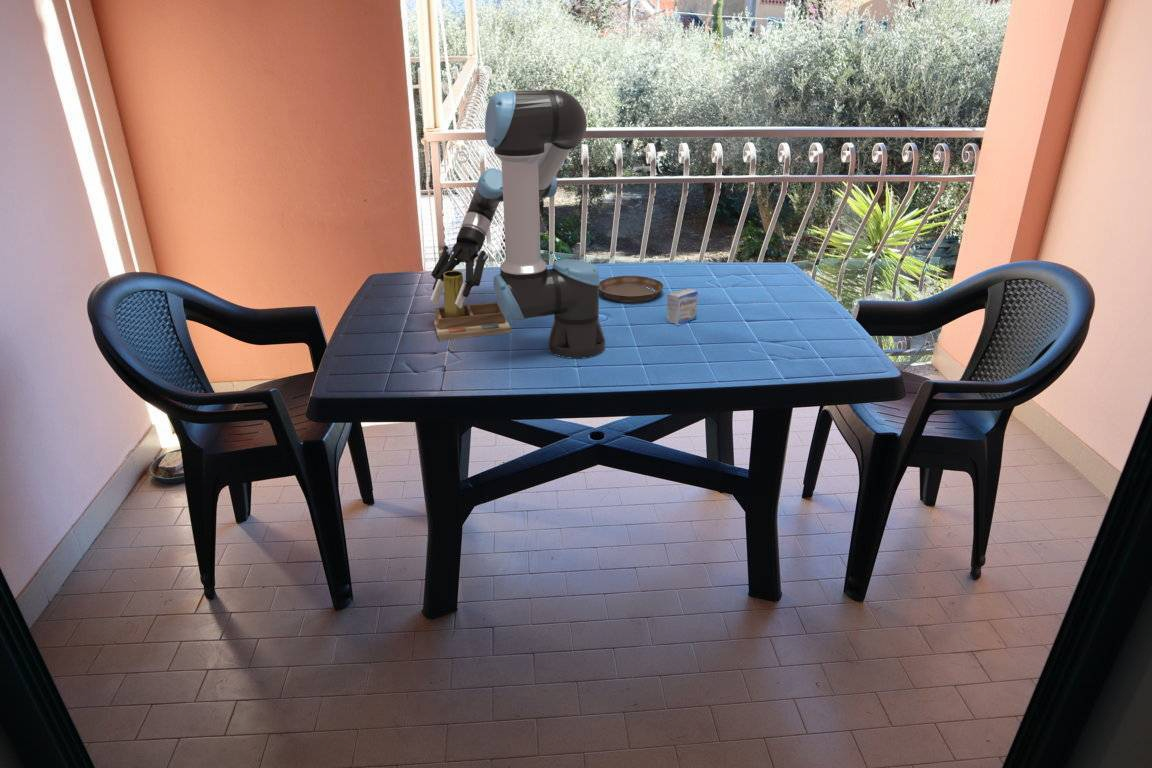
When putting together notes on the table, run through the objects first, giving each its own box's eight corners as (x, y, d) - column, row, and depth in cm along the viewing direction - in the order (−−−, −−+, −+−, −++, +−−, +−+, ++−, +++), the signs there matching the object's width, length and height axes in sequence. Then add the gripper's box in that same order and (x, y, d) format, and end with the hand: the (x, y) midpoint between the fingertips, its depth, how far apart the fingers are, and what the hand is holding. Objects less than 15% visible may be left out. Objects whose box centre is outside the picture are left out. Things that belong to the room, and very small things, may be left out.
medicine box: (677, 326, 222) (678, 297, 218) (666, 321, 225) (667, 293, 221) (696, 319, 226) (698, 290, 223) (685, 315, 229) (686, 287, 226)
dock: (511, 332, 218) (510, 317, 216) (438, 340, 214) (437, 324, 212) (502, 315, 230) (501, 301, 228) (434, 322, 226) (432, 307, 224)
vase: (467, 317, 225) (465, 270, 218) (464, 326, 219) (462, 277, 213) (445, 317, 224) (443, 269, 218) (443, 325, 219) (440, 277, 212)
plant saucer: (597, 284, 257) (597, 274, 255) (661, 284, 256) (661, 274, 254) (596, 305, 238) (596, 295, 237) (665, 306, 237) (665, 295, 236)
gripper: (509, 243, 222) (482, 315, 216) (449, 235, 230) (422, 305, 224) (498, 229, 215) (471, 303, 209) (437, 221, 223) (408, 292, 217)
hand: (445, 304), depth 216 cm, fingers open, 7 cm apart
